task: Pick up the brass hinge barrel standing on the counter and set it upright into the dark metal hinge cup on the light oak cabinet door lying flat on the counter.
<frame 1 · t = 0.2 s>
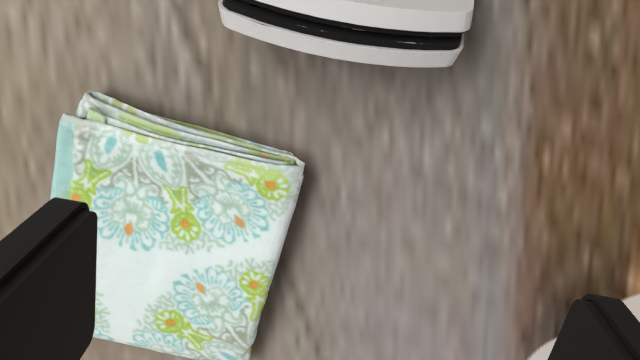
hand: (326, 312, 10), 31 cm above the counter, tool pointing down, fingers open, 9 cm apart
towel: (177, 227, 46), on the counter
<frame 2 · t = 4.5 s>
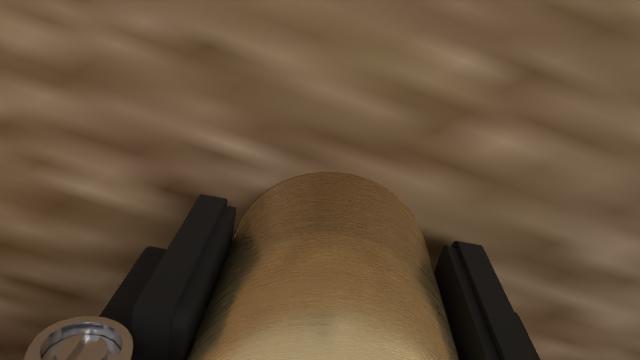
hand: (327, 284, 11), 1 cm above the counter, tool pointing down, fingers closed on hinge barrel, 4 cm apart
hinge barrel: (328, 262, 12), on the counter, touching gripper
when the fingers open (3 cm above the counter, at t = 8.9 s): hinge barrel stays where it is, resting on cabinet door.
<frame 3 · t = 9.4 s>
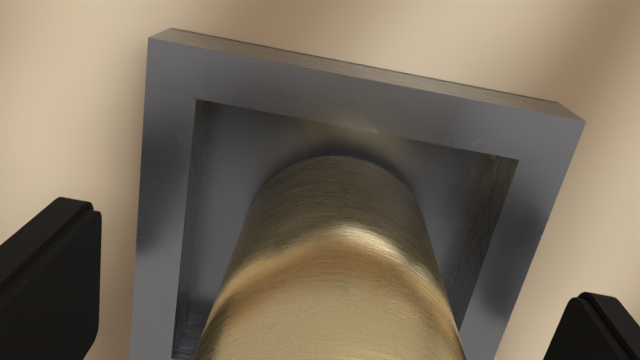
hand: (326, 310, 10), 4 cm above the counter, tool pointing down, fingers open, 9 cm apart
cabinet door: (474, 236, 15), on the counter
hinge barrel: (334, 241, 13), point 2 cm above the counter, touching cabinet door
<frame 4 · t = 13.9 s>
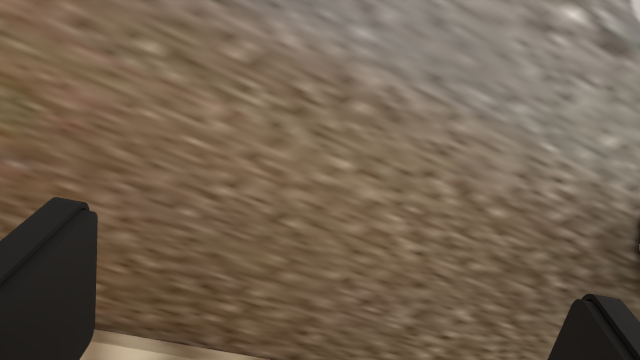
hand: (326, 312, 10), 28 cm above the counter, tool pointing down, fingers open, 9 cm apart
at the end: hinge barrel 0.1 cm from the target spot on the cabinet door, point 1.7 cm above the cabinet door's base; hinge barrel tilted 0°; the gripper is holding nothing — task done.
